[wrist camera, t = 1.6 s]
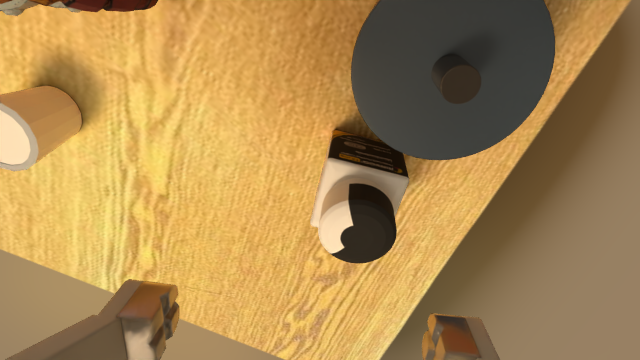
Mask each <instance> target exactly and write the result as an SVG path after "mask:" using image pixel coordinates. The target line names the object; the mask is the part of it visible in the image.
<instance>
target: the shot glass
mask: <svg viewBox="0 0 640 360" xmlns="http://www.w3.org/2000/svg"><path fill="white" fill-rule="evenodd" d="M81 125H82V117H81V112H80V110H79V108H78V106H77V104H76V103H75V102H74V101H73V99H72V98H71V97H70V96H69V95H68V94H66V93H65V92H63V91H62V90H60V89H58V88H56V87H51V86H47V85H46V86H40V87H35V88H30V89H26V90H21V91H16V92H11V93H7V94H2V95H0V168H3V169H7V170H11V171H20V170H27V169H28V168H30V167H31V166H32V165H34V164H35V163H36V162H38V161H39V160H41V159H42V158H43V157H45V156H46V155H47V154H49V153H50V152H51V151H53V150H54V149H56V148H57V147H58V146H60V145H61V144H62V143H64V142H65V141H67V140H68V139H69V138H71V137H72V136H73V135H75V134H76V133H77V132H79V130H80V128H81Z"/></svg>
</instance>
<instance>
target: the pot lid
mask: <svg viewBox="0 0 640 360" xmlns="http://www.w3.org/2000/svg"><path fill="white" fill-rule="evenodd" d="M554 56H555V36H554V28H553V24H552V20H551V17H550V13H549V11H548V9H547V7H546V5H545V3H544V1H543V0H379V1H378V3H377V4H376V5H375V6H374V8H373V9H372V10H371V12H370V13H369V15H368V17H367V18H366V20H365V22H364V24H363V26H362V28H361V30H360V33H359V35H358V37H357V41H356V44H355V47H354V52H353V58H352V66H351V81H352V90H353V94H354V98H355V102H356V104H357V107H358V110H359V112H360V114H361V116H362V117H363V119H364V121H365V123H366V124H367V125H368V127H369V128H370V129H371V131H372V132H373V133H374V134H375V135H376V136H377V137H378V138H379V139H381V140H382V141H383V142H384V143H386V144H387V145H389V146H390V147H392V148H394V149H395V150H397V151H399V152H402V153H404V154H406V155H410V156H413V157H417V158H422V159H428V160H449V159H457V158H462V157H466V156H469V155H473V154H476V153H478V152H481V151H483V150H485V149H488V148H490V147H491V146H493V145H495V144H497V143H498V142H500V141H501V140H503V139H504V138H506V137H507V136H509V135H510V134H511V133H512V132H513V131H514V130H516V129H517V128H518V127H519V126H520V125H521V124H522V123H523V122H524V121H525V120H526V118H527V117H528V116H529V115H530V114H531V112H532V111H533V110H534V108H535V107H536V105H537V104H538V102H539V100H540V99H541V97H542V95H543V93H544V91H545V89H546V86H547V84H548V82H549V79H550V75H551V72H552V68H553V63H554Z"/></svg>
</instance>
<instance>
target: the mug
mask: <svg viewBox="0 0 640 360" xmlns="http://www.w3.org/2000/svg"><path fill="white" fill-rule="evenodd" d="M157 1H158V0H0V11H3V12H4V13H5V14H6V15H14V16H17V15H19V14H22V12H23V11H24V10H25V9H27V8H30V7H33V6H36V5H38V4H41V5H45V6H51V7H56V8H68V9H69V10H70V11H71V12H80V11H91V12H98V11H99V10H101V9H102V8H103V9H104V10H106V11H121V12H126V11H134V10H145V9H149V8H151V7H153V6H154V5H156V3H157Z"/></svg>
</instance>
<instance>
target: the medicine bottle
mask: <svg viewBox="0 0 640 360" xmlns="http://www.w3.org/2000/svg"><path fill="white" fill-rule="evenodd" d="M408 183H409V177H408V172H407V168H406V164H405V160H404V155H403V153H402V152H399V151H397V150H395V149H394V148H392V147H390V146H389V145H387V144H386V143H384V142H381V141H377V140H373V139H369V138H366V137H362V136H358V135H354V134H350V133H346V132H342V131H338V130H334V131H333V132H332V134H331V138H330V142H329V146H328V149H327V153H326V157H325V161H324V164H323V168H322V172H321V176H320V180H319V183H318V187H317V192H316V197H315V202H314V206H313V211H312V216H311V221H310V223H311V225H312V226H314V227H318V234H319V238H320V241H321V243H322V245H323V246H324V248H325V249H326V250H327V251H328V252H329V253H330V254H331V255H333V256H334V257H336V258H338V259H340V260H343V261H346V262H350V263H367V262H371V261H374V260H376V259H378V258H380V257H382V256H383V255H385V254H386V253H387V252H388V251H389V250H390V249H391V248H392V246H393V244H394V242H395V239H396V232H397V230H396V223H395V215H396V213H397V210H398V208H399V205H400V203H401V200H402V198H403V195H404V193H405V190H406V188H407V185H408Z"/></svg>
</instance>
